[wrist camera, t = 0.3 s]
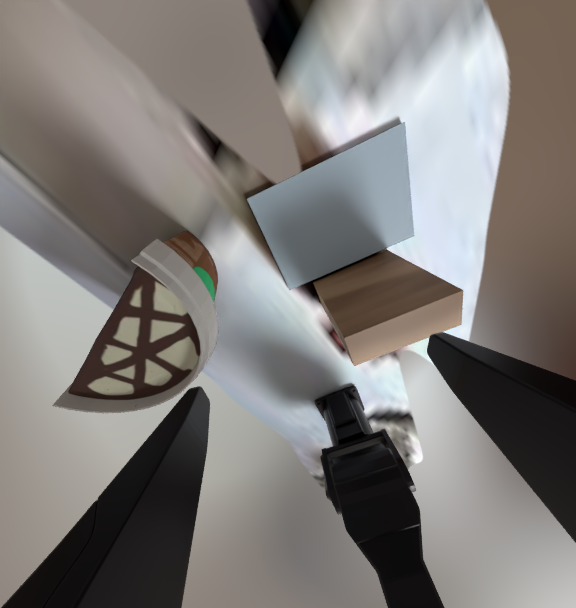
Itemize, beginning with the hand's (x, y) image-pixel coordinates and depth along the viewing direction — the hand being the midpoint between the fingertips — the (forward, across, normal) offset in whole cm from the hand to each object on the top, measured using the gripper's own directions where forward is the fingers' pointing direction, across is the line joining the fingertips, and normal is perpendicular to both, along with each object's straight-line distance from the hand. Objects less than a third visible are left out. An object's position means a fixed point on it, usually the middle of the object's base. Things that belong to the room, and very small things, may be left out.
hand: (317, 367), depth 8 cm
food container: (+14, +9, +1) cm, 17 cm away
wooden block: (+14, -7, +4) cm, 16 cm away
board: (+14, -6, -3) cm, 15 cm away
